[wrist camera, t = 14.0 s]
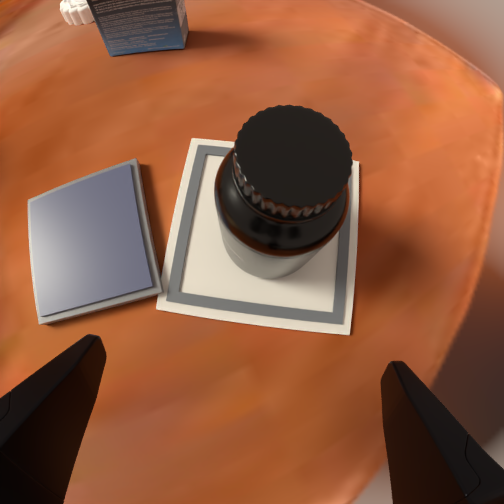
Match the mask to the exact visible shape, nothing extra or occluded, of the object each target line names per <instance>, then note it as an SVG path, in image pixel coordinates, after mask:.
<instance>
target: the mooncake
mask: <svg viewBox="0 0 504 504" xmlns="http://www.w3.org/2000/svg"><path fill="white" fill-rule="evenodd" d="M60 11H61V13H62V15H63V17H64V19H65V21H66V22H68V23H69V24H70V25H72V24H75V25H76V26H78V25H81V24H89V23H91V22H93V21H95V20H94V18H93V15H92V13H91V10H90V8H89V6H88V3H87V1H86V0H63V1H62V2H61V3H60Z"/></svg>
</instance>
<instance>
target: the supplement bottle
mask: <svg viewBox="0 0 504 504" xmlns="http://www.w3.org/2000/svg"><path fill="white" fill-rule="evenodd" d="M351 157H352V152H351V150H350V148H349V142H348V141H347V140H346V138H345V135H344V133H342V132H341V131H340V129H339V127H338V126H337V125H336V124H334V123H333V122H332V121H331V119H329V118H327V117H325V116H324V115H323V114H322V113H319V112H315V111H314V110H312V109H310V108H304V107H302V106H292V105H286V106H281V105H278V106H276V107H268V108H267V109H265V110H264V111H259V112H258V113H257V114H256V115H255V116H252V117H250V118H249V120H248V122H246V123H244V124H243V127H242V129H241V130H240V131H239V132H238V134H237V139H236V141H235V143H234V147H233V148H232V149H231V150H230V151H229V152H228V153H227V154H226V156H225V157H224V159H223V160H222V162H221V164H220V166H219V168H218V171H217V174H216V178H215V183H214V199H215V206H216V211H217V216H218V221H219V226H220V231H221V236H222V240H223V243H224V247H225V249H226V251H227V253H228V255H229V257H230V258H231V260H232V261H233V262H234V263H235V264H236V265H237V266H238V267H239V268H240V269H242V270H243V271H245V272H246V273H248V274H250V275H253V276H255V277H259V278H265V279H276V278H282V277H285V276H288V275H290V274H292V273H294V272H296V271H297V270H299V269H300V268H301V267H303V266H304V265H305V264H306V263H307V262H308V261H309V260H310V259H312V258H313V257H314V256H315V255H316V254H317V253H318V252H319V251H320V250H321V249H322V248H323V247H324V246H325V245H327V244H328V243H329V242H330V241H331V240H332V238H333V237H334V236H335V235H336V234H337V232H338V231H339V230H340V228H341V226H342V225H343V223H344V221H345V218H346V215H347V212H348V208H349V200H350V193H349V185H348V180H349V178H350V176H351V174H352V169H351V167H352V165H353V161H352V158H351Z"/></svg>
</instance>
